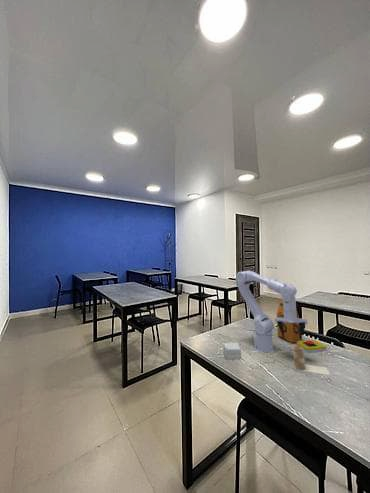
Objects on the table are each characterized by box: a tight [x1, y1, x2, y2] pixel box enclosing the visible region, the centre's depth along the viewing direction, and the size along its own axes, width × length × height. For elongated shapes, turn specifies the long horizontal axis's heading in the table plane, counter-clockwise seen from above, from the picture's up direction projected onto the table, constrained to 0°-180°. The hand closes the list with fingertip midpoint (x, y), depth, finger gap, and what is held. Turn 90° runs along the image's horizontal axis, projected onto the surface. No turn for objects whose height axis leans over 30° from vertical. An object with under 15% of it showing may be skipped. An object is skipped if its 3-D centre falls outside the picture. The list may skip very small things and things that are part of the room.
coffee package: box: [276, 300, 302, 344], centre depth 128 cm, size 10×12×22 cm
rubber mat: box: [302, 363, 330, 376], centre depth 97 cm, size 20×14×1 cm
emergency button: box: [296, 339, 331, 354], centre depth 115 cm, size 9×4×15 cm
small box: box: [223, 342, 242, 360], centre depth 111 cm, size 8×8×5 cm
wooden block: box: [292, 344, 306, 371], centre depth 97 cm, size 4×4×9 cm
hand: (291, 337), depth 105 cm, fingers open, 7 cm apart
